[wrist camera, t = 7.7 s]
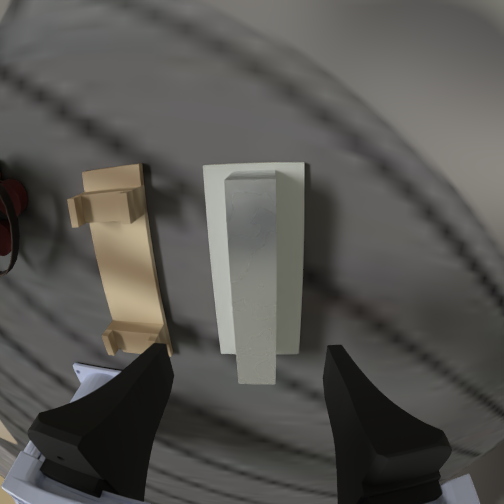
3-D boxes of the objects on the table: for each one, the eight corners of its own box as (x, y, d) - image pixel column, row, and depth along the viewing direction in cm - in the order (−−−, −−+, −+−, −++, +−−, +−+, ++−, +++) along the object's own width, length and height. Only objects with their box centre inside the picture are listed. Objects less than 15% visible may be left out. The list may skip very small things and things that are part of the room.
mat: (298, 350, 24) (298, 353, 24) (221, 350, 25) (221, 353, 25) (303, 162, 19) (304, 162, 19) (204, 165, 19) (203, 165, 19)
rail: (275, 349, 24) (275, 384, 20) (243, 349, 24) (238, 383, 20) (274, 169, 19) (275, 178, 15) (233, 170, 19) (224, 180, 15)
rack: (173, 352, 25) (164, 374, 23) (125, 347, 26) (113, 367, 23) (142, 163, 19) (123, 168, 17) (86, 170, 20) (64, 177, 17)
